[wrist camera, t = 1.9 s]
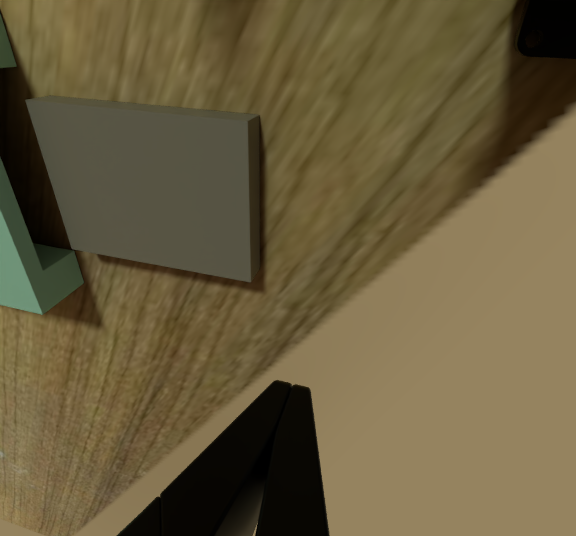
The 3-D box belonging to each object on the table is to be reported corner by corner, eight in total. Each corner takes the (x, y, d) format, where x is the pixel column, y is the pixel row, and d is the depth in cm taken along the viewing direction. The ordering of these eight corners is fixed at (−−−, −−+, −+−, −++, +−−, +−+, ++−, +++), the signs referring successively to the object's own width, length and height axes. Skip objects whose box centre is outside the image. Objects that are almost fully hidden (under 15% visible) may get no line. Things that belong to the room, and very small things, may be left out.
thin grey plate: (259, 114, 16) (247, 121, 15) (259, 267, 21) (250, 282, 20) (50, 95, 19) (24, 99, 17) (89, 237, 23) (71, 249, 22)
